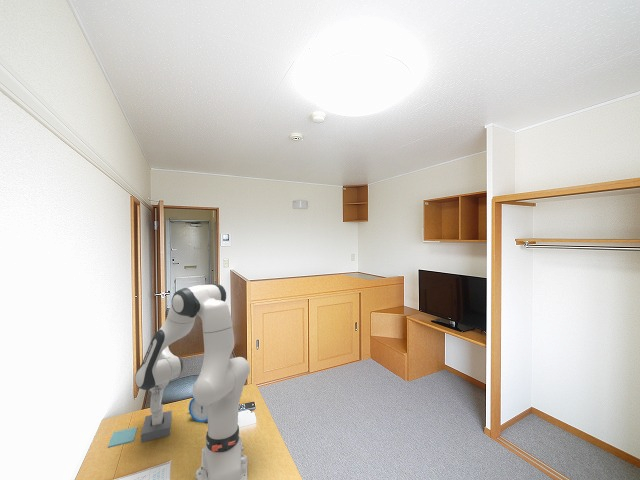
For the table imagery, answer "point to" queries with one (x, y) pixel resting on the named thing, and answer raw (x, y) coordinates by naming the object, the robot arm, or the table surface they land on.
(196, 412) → the alarm clock
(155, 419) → the plug
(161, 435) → the socket header
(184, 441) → the table surface
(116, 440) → the mat
